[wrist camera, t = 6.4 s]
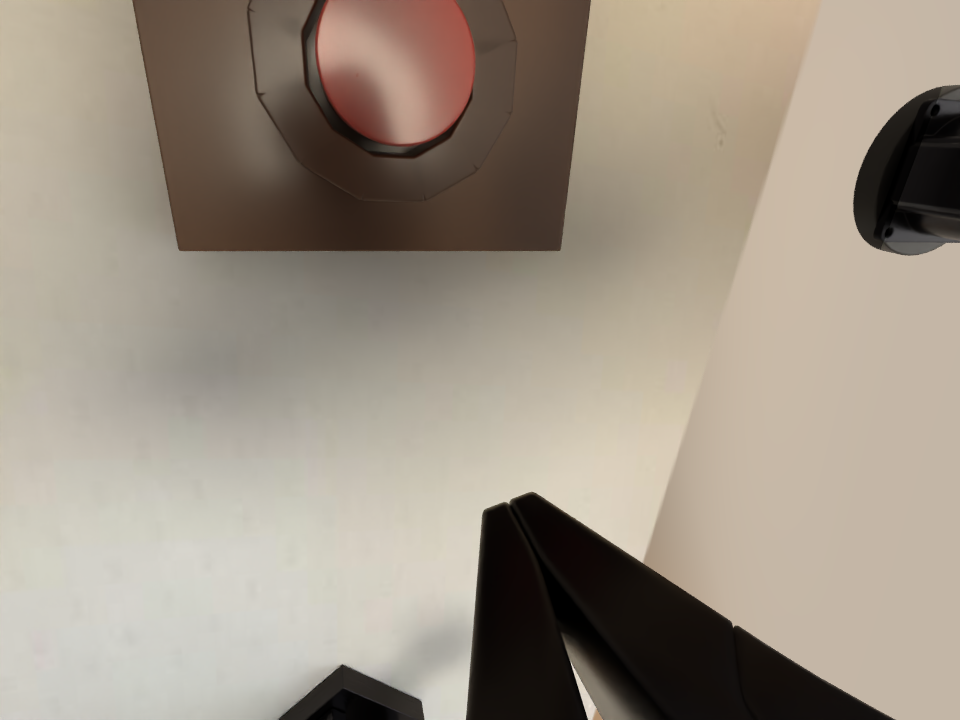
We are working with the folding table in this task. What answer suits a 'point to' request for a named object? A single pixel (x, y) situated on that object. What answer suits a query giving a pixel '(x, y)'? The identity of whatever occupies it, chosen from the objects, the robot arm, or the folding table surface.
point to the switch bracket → (355, 700)
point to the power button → (395, 66)
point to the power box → (345, 153)
